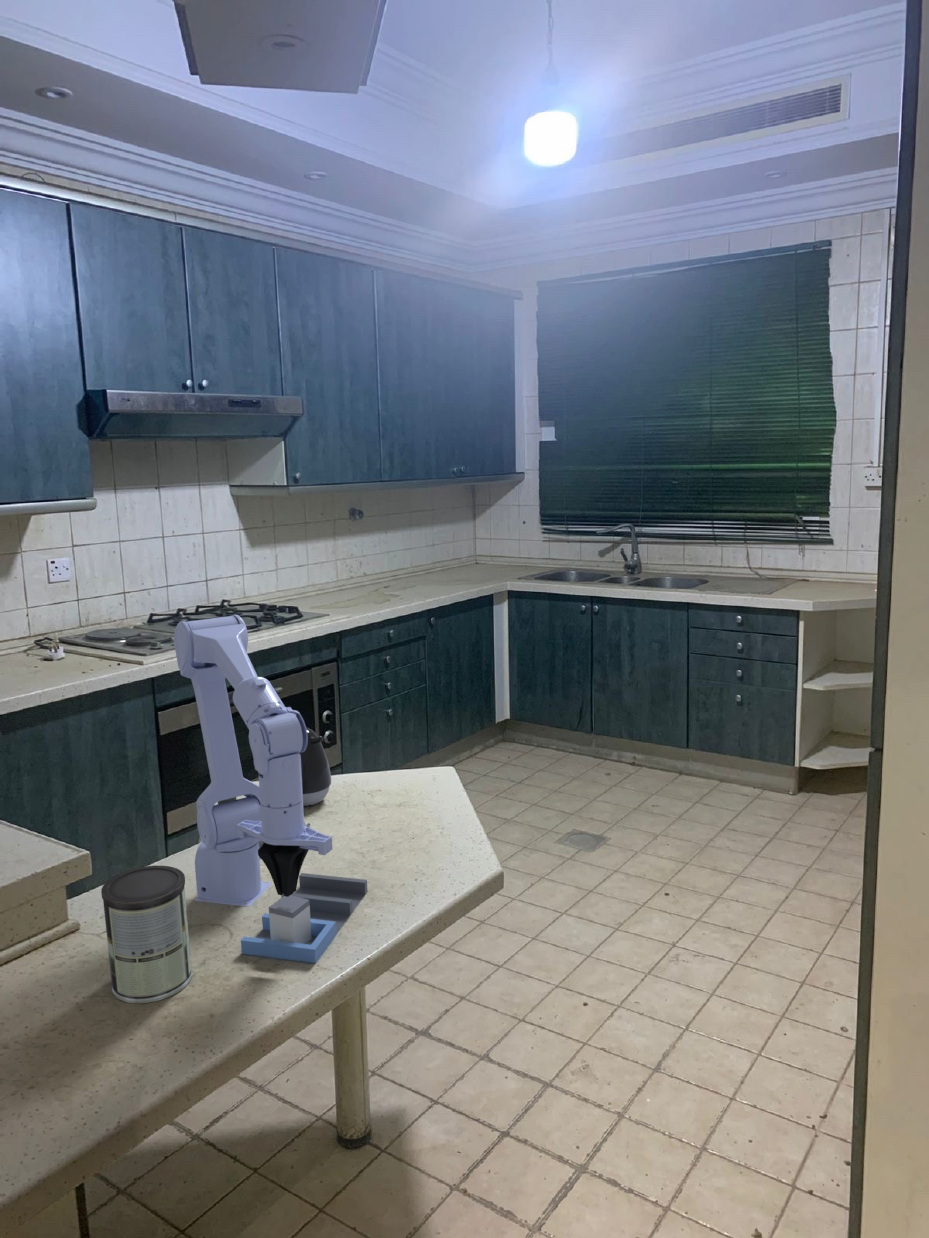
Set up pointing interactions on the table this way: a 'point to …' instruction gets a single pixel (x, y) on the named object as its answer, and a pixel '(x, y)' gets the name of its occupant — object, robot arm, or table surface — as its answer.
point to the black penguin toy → (314, 770)
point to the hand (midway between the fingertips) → (286, 892)
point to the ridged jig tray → (312, 919)
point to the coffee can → (147, 933)
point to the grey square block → (290, 920)
